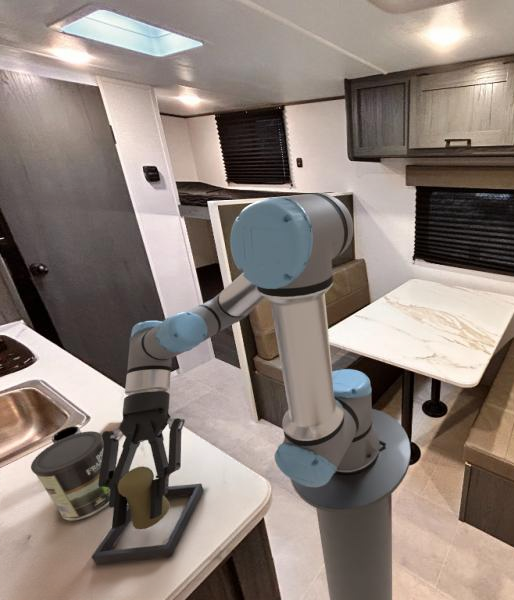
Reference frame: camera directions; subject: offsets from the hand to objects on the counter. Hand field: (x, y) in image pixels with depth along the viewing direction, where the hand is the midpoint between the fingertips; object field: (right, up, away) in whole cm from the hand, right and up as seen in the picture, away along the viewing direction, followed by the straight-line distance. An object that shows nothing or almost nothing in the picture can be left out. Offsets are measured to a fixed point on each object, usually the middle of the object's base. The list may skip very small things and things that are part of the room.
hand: (137, 521), depth 58 cm
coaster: (-30, +5, +28) cm, 41 cm away
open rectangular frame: (-1, -5, +6) cm, 8 cm away
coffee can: (-19, -3, +11) cm, 22 cm away
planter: (-29, +1, +19) cm, 34 cm away
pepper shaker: (-1, -2, +5) cm, 5 cm away
